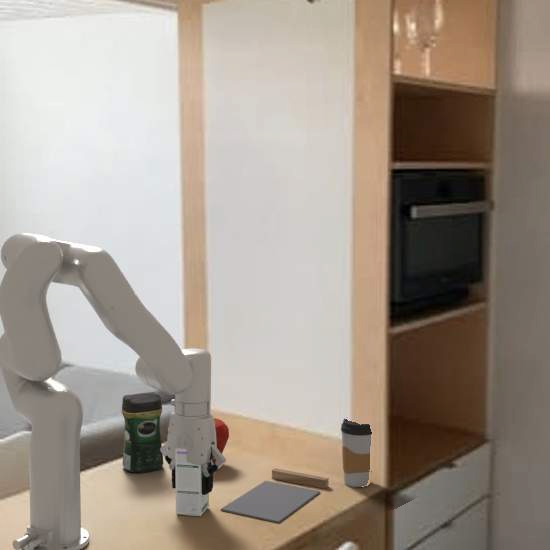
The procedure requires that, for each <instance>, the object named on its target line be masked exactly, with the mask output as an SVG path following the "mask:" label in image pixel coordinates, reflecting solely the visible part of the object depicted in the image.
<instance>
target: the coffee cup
mask: <svg viewBox="0 0 550 550" xmlns="http://www.w3.org/2000/svg"><path fill="white" fill-rule="evenodd" d="M340 425H341V428H340V432H341V442H342V443H341V445H342V447H341V453H342V470H343V482H344V484H345V485H346V486H348V487H349V488H350V487H351V488H355V487H362V486H365V485H367V483H368V480H369V472H370V471H369V470H370V446H371V434H372V432H371V429H370V425H369V424H361V425H360V424H358V423H356V422H352V421H348V420H347V419H345V418H343V421H342V423H341V424H340Z"/></svg>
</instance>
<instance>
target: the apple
mask: <svg viewBox="0 0 550 550" xmlns="http://www.w3.org/2000/svg"><path fill="white" fill-rule="evenodd" d="M213 418H214V417H213ZM214 423H215V429H216V442H217V449H218V450H219V451H220V452H221V454H222V455H223V452H224V450H225V449H226V445H227V442H228V440H229V438H230V431H229V426H228V425H227V424H226V423H225V422H224V421H223V419H222V420H221V419H219V418H214ZM212 462H213V464H215V462H216V459H214V460H212Z"/></svg>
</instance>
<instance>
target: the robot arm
mask: <svg viewBox="0 0 550 550" xmlns="http://www.w3.org/2000/svg"><path fill="white" fill-rule="evenodd" d="M0 259H1V263H2V264H3V267H4V268H5V270H6V271H5V273H4V275H3V277H2V279H1V282H0V319H1V322H2V323H1V324H2V328H3V331H4V332H3V333H2V335H1V336H0V370H1V374H2V376H3V379H4V382H5V386H6V388H7V391H8V394H9V397H10V401H11V403H12V405H13V408H14V410H15V411H16V413H17V415H19V416H20V418H22V419H23V420H24V421H26V422H28V424H30V425H31V431H30V432H31V434H30V439H29V446H28V447H29V448H28V470H29V471H28V473H29V474H28V477H29V478H28V479H29V519H30V520H29V521H30V522H29V523H30V524H29V525H27V526H26V532H25V533H24V535H22V536H21V537H19V538H16V539H14V540H13V541H12V548H13V549H14V550H21V549H23V550H81V549H83V548H85V547H86V546H87V545H88V544H89V543H90V542H89V541H90V533H89V532H88V530H86V529H84V528H83V527H82V513H81V512H82V510H81V502H82V501H81V499H82V498H81V459H80V458H81V455H80V454H81V453H80V452H81V448H80V446H81V433H82V425H83V418H84V409H83V404H82V402H81V399H80V397H79V396H78V394H77V393H76V392H75V391H74V390H73V389H72V388H71V387H69V386H67V385H65V384H64V383H62V382H60V381H57V380H56V378H55V377H56V375H57V373H58V372H59V370H60V369H61V365H62V351H61V348H60V345H59V342H58V338H57V335H56V333H55V329H54V326H53V323H52V319H51V317H50V312H49V308H48V304H47V294H48V289H49V287H50V285H51V283H55V284H61V285H68V286H73V287H76V288H78V289H79V290H80V291H81V293H82V295H83V296H84V297H85V299H86V300H87V301H88V303H89V305H90V306H91V307H92V309H93V310H94V312H95V313H96V315H97V316H98V318H99V319H100V321H101V322H102V324H103V325H104V327H105V328H106V329H107V330H108V331H109V332H110V333H111V334H112V335H113V336H114V337H115V338H117V339H118V340H120V342H122V343H123V344H124V345H126V346H127V347H129V348H130V349H131V350H132V351H134V352H135V354H137V356H138V358H137V360H136V363H135V368H134V371H135V373H136V376H137V378H138V380H139V381H141V383H143V384H145V385H146V386H148V387H151V388H153V389H156V390H158V391H160V392H162V393H165V394H166V395H174V398H172V399H171V400H170V405H171V406H174V411H173V412H171V413H170V414H171V415H170V419H169V424H168V428H167V438H166V439H167V441H166V442H165V443H164V444H163V445H162V447H161V448H160V451H161V453H162V454H163V457H164V461H166V463H167V464H168V468H169V470H170V471H171V482H172V483H171V488H172V489H175V490H176V479H175V449H176V448H186V450H187V451H186V452H188V453H186V460H187V462H188V463H191V464H196V465H202V470H203V473H204V476H202V495H206V494H208V493H211V492H212V491H213V489H214V474H216V472H217V471H218V470H219V469H221V467H222V466H223V465H224V464H225V462H227V459H226V457H225V456H224V455H223V453H222V454H221V452H220V451H219V450H218V449H217V442H216V429H215V423H214V415H213V414H212V407H211V405H212V402H211V401H212V355H211V353H210V351H208V350H207V349H204V348H195V347H191V348H184V349H181V348H180V346H179V344H178V343H177V342H176V340H175V339H174V337H173V336H172V335H171V334H170V332H169V331H168V330H166V328H165V327H164V326H163V325H162V324H161V323H160V322H159V321H158V319H157V318H156V317H155V316H154V315H153V313H151V312H150V310H149V309H148V308H146V306H145V305H144V304H143V302H142V301H141V299H140V297H139V296H138V295H137V293H136V291H135V290H134V288H133V287H132V286H131V284H130V283H129V281H128V280H127V278H126V277H125V275H124V273H123V272H122V271H121V268H120V267H119V266H118V264H117V262H116V261H115V260H114V258H113V256H112V255H111V254H109V252H108V251H106V250H105V249H102V248H100V247H97V246H91V245H86V244H79V243H73V242H67V241H63V240H57V239H53V238H50V237H48V236H45V235H40V234H34V233H28V232H19V233H16V234H14V235H13V234H12V236H9V238H7V239H5V241H4V243H3V245H2V246H1V250H0ZM214 459H216V462H215V464H213V462H212V460H214Z"/></svg>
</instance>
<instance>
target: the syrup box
mask: <svg viewBox="0 0 550 550" xmlns="http://www.w3.org/2000/svg"><path fill="white" fill-rule="evenodd" d="M186 451H187V450H186V448H176V449H175V479H176V488H175V514H176V515H182V516H191V517H202V515H203V514H204V513H205V512H206V510H207V509H208V507H209V505H210V504H209V501H210V496H209V493H208V494H206V495H202V476H204V473H203V470H202V465H196V464H191V463H188V462H187V460H186V453H188V452H186Z"/></svg>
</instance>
